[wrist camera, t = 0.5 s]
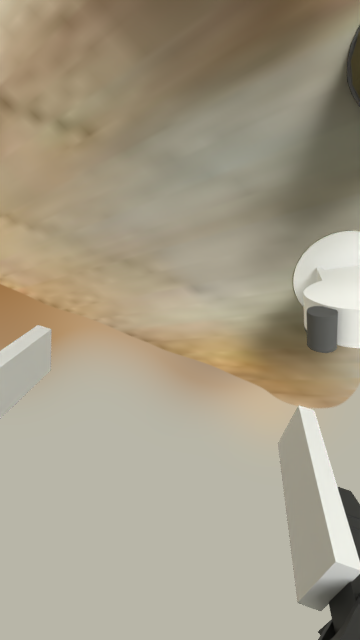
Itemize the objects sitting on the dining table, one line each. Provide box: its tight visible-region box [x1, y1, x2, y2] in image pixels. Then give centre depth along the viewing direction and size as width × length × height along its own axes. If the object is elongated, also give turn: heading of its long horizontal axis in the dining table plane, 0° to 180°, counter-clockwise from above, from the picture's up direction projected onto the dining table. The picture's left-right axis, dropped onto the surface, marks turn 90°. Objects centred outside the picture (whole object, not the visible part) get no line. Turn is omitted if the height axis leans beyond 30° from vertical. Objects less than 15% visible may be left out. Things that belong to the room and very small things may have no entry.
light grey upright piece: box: [293, 231, 360, 353], centre depth 30 cm, size 12×11×15 cm
